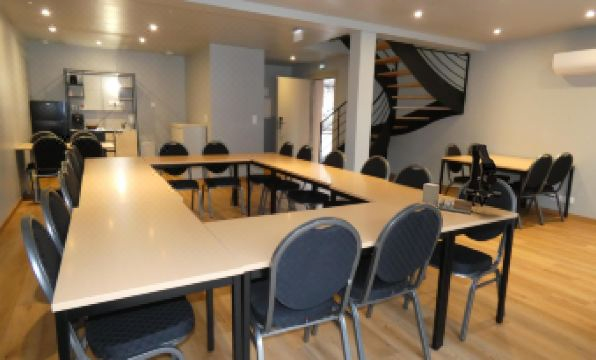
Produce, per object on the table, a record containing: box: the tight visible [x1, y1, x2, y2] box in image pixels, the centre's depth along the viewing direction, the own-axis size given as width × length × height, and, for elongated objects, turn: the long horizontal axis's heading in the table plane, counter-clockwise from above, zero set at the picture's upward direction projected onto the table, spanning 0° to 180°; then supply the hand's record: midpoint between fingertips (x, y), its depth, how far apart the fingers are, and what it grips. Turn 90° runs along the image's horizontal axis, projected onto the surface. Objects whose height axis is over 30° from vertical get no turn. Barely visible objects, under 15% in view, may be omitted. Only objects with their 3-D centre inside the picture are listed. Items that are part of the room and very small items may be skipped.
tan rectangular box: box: [453, 198, 473, 212], centre depth 229 cm, size 5×10×5 cm, turn 62°
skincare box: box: [421, 182, 440, 208], centre depth 234 cm, size 8×6×15 cm
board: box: [438, 197, 472, 216], centre depth 231 cm, size 15×18×5 cm
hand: (481, 206), depth 224 cm, fingers closed
